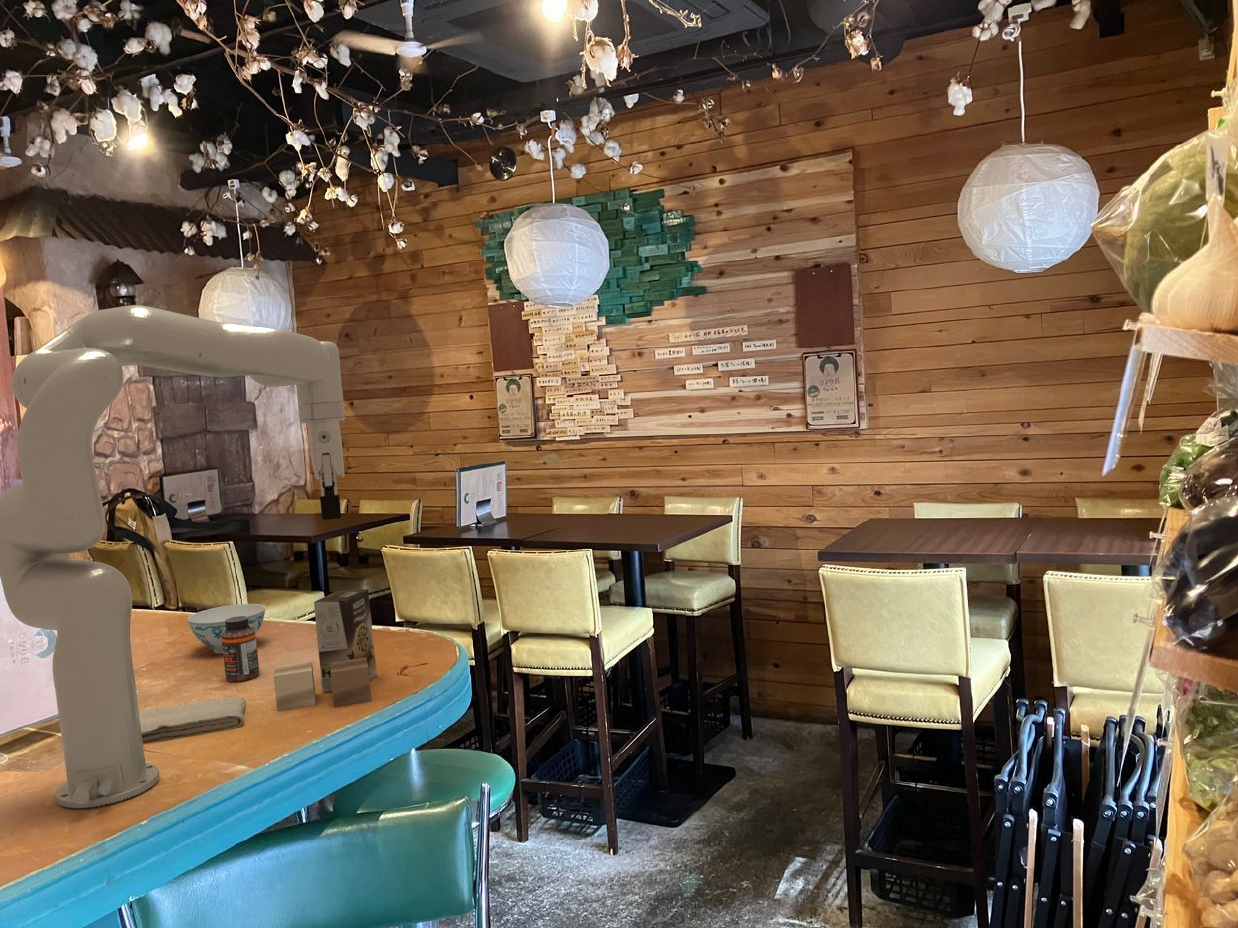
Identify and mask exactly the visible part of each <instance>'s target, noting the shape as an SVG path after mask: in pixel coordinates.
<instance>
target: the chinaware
mask: <svg viewBox="0 0 1238 928" xmlns="http://www.w3.org/2000/svg"><path fill="white" fill-rule="evenodd" d="M265 613H266V606H265V605H263V604H257V603H238V604H230V605H224V606H218V607H213V608H209V609H205V610H201V611H197V612H196V613H193V614H191V615H190V616H188V618H187V622H188V626H189V628H190V630H191V631H192V633H193V635H194V636H195V638H196V639H198V641H199V642H201V643H202V644H203V645H205V646H207V647H209V648H211V649H212V650H213V653H215V654H222V655H223V648H222V639H221V635H222V633H223V632H224V631H225V629H226V627H225V620H226V619H228V618H232V617H237V616H247V617H248V622H249V624H248V625H249V626H250V627H252V628H253V629H254V630H255V636H256V635H257V634H259V633H258V632H259V631H260V630H261V628H262V626H263V623H264V619H265Z"/></svg>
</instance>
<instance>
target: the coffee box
mask: <svg viewBox="0 0 1238 928" xmlns="http://www.w3.org/2000/svg"><path fill="white" fill-rule="evenodd" d="M313 607H314V609H313V610H314V618H315V630H316V637H317V650H318V658H319V668H320V669H319V670H320V677H321V678H320V679H321V689H322V692H333V691H332V681H331V671H330V663H332V662H339V661H346V660H352V659H359V658H367V664H368V672H369V681H371V680H373V679H374V678H375V677H376V676H377V674H378V673H377V672H378V671H377V662H376V653H375V645H374V642H375V641H374V634H373V623H372V613H371V603H370V594H369V589H368V588H367V589H363V588H362V589H360V588H359V589H347V590H336V591H334V592H332V593H330V594H328V595H326V596H324V597H321V598H319V599H318V600H317V599H316V601H313Z"/></svg>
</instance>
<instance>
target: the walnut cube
mask: <svg viewBox="0 0 1238 928" xmlns="http://www.w3.org/2000/svg"><path fill="white" fill-rule="evenodd" d="M330 671H331V681H332V691H331V692H332V699H333V707H334V708H339V707H340V708H341V707H344V706H350V705H357V704H363V703H369V702H372V692H371V682H370V681H371V680H370V681H369V672H368V664H367V658H359V659H352V660H346V661H339V662H332V663H330Z"/></svg>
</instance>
